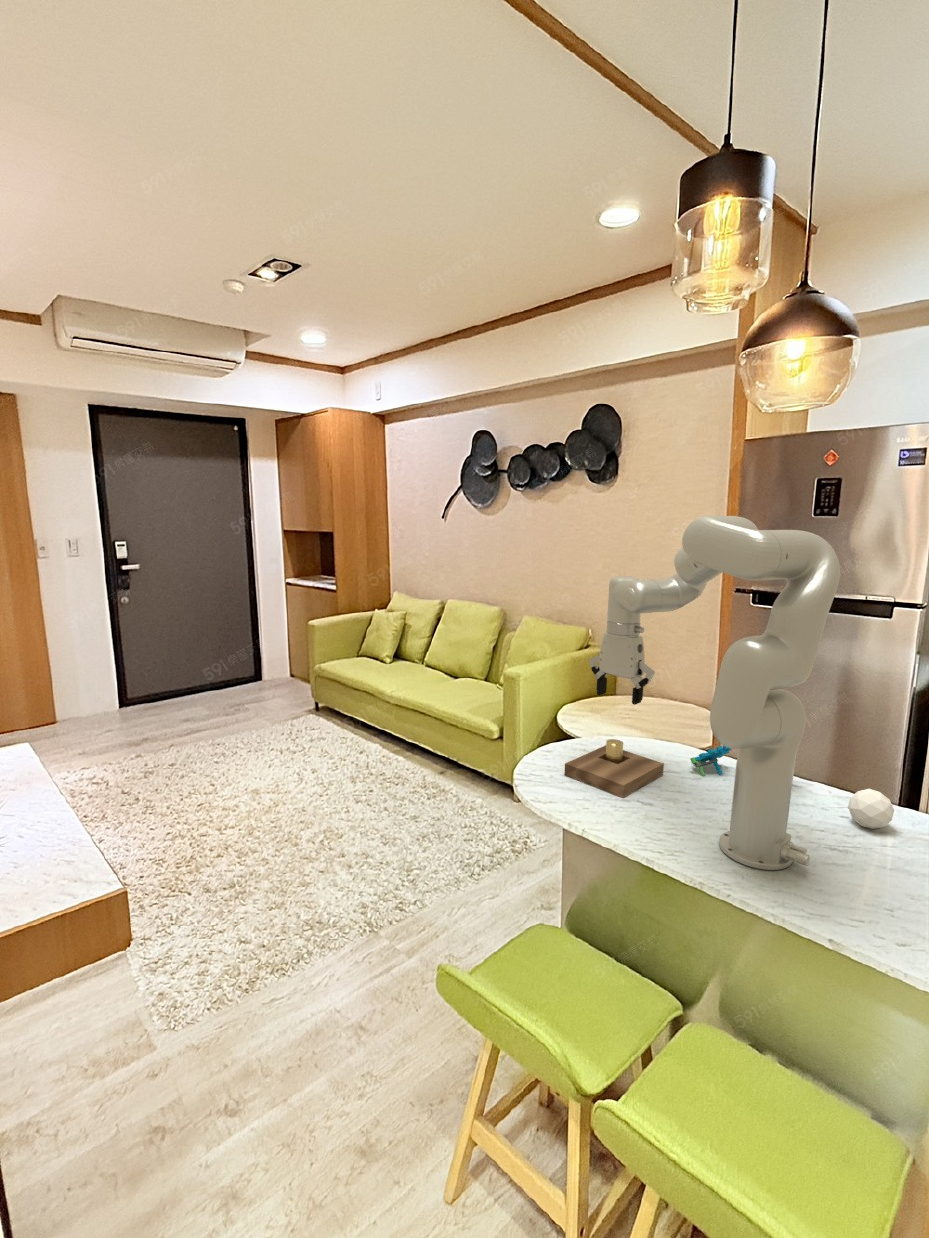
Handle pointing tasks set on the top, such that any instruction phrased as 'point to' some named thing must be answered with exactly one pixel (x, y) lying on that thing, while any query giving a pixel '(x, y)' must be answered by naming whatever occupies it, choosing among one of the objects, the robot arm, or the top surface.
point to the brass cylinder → (614, 751)
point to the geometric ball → (871, 808)
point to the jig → (614, 771)
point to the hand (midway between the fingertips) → (618, 698)
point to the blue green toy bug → (710, 758)
